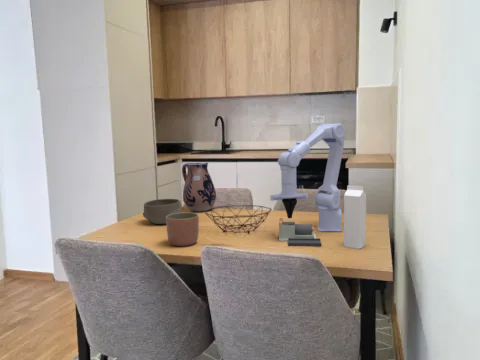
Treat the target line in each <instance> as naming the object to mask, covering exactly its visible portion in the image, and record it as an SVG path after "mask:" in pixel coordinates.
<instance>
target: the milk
mask: <svg viewBox="0 0 480 360" xmlns="http://www.w3.org/2000/svg"><path fill="white" fill-rule="evenodd" d="M346 187H347V188H346V191H345V193H344V195H343V247H345V248H351V249H355V250H356V249H357V250H360V249H362V248H363V247H364V246H366V242H367V241H366V240H367V238H366V237H367V235H366V234H367V193H366V192H365V191H364V186H363V185H350V184H349V185H347V186H346Z"/></svg>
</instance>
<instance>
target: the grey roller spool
mask: <svg viewBox="0 0 480 360" xmlns="http://www.w3.org/2000/svg"><path fill="white" fill-rule="evenodd" d="M288 226H295V234H302V235H312V232H315V227H314V226H313V225H312V224H311V223H295V224H288Z"/></svg>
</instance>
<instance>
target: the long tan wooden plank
mask: <svg viewBox="0 0 480 360" xmlns="http://www.w3.org/2000/svg"><path fill="white" fill-rule="evenodd" d="M283 222H284V218H283V217H279V220H278V227H279V226H282V223H283Z"/></svg>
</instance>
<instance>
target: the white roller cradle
mask: <svg viewBox="0 0 480 360" xmlns="http://www.w3.org/2000/svg"><path fill="white" fill-rule="evenodd" d="M288 224H296V221H283V223H282V226H279V225H278V227H279V228H278V235H279V237H278V241H279V242H288V238H317V237H316V236H317V235H316V233H314V232H315V231H314V232H312V235H302V234H295V226H288Z"/></svg>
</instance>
